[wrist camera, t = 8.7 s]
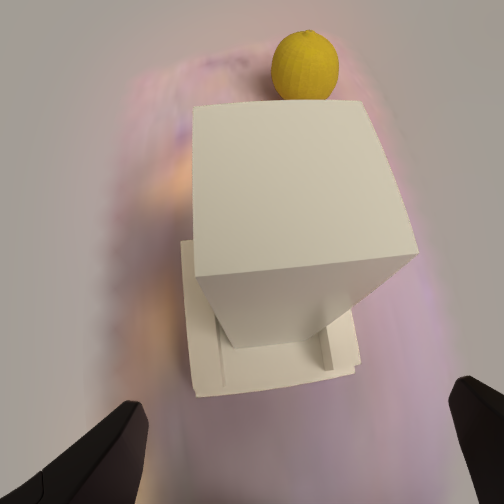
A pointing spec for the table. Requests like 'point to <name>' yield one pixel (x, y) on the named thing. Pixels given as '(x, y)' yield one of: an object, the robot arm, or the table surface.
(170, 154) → the table surface
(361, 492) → the table surface
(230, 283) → the clay bar
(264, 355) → the rack
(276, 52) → the lemon
